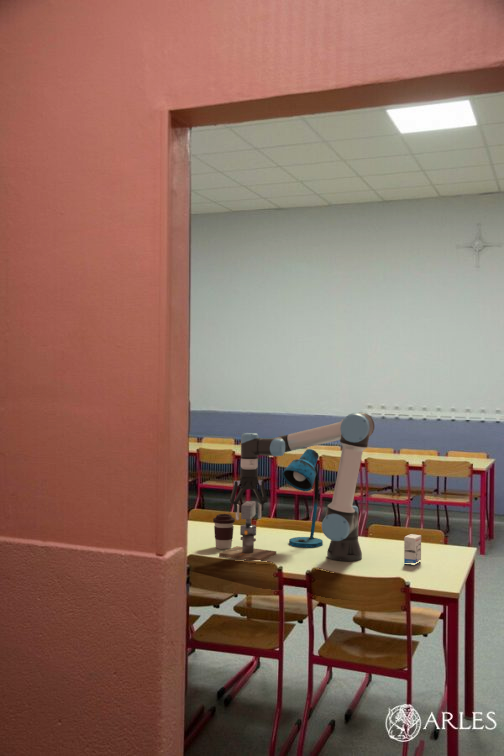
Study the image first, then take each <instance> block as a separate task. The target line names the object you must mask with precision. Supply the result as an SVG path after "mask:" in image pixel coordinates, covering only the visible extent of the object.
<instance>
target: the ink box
mask: <svg viewBox="0 0 504 756" xmlns="http://www.w3.org/2000/svg"><path fill="white" fill-rule="evenodd" d="M403 542H404V543H403V546H404V547H403V549H404V550H403V551H404V553H403V561H404V563H416V562H418V561H419V560H421V561H422V535H421V534H415V533H411V534H408V535H405V536H404V538H403ZM404 563H403V564H404Z"/></svg>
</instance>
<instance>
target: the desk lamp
mask: <svg viewBox="0 0 504 756" xmlns="http://www.w3.org/2000/svg"><path fill="white" fill-rule="evenodd" d="M318 460H319V453H318V452H317V451H316V450H314V449H312V448H307V449H306V450H305V451H304V452H303V454H302V455H301V456H300V457H299V458H298V459H292V461H291V462H290V463H289V465H288V466H287V467H285V468H284V470H283V471H282V473H281V475H282V478H283V479H284V481H285V482H286V483H287V484H288V485H289V486H291V487H292V488H294V489H296V490H298V491H301V492H302V491H303V492H309V491H311V490H312V489H313V486H314V496H313V498H314V499H313V510H312V519H311V527H310V534H309V535H310V536H298V537H297V536H296V537H295V536H294V537H292V538H290V539H289V541H288V544H289V546H291V545H292V546H291V547H296V548H303V549H304V548H305V549H313V548H320V547H322V546H323V545H324V541H323V539H320V538H318V537H315V535H314V534H315V529H316V519H317V512H318V511H317V510H318V501H319V500H318V499H319V498H318V497H319V471H318V468H317V466H316V464H317V462H318Z"/></svg>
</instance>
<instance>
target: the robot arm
mask: <svg viewBox="0 0 504 756" xmlns="http://www.w3.org/2000/svg"><path fill="white" fill-rule="evenodd" d="M375 427H376V426H375V421H374V419H373V418H372V416H371V415H370V414H368V413H366V412H353V413H350V414H348V415H346V416H345V417H344V418H341V421H338V422H335V423H331V424H327V425H322V426H318V427H314V428H311V429H310V428H309V429H305V430H301V431H298V432H294V433H293V432H292V433H289V434H285V435H279V436H277V437H276V436H275V437H272V438H260V437H259V434H258V433H256V432H255V433H254V432H245V433H242V434H241V438H240V479H239V480H233V487H232V492H231V494H230V498H229V503H230V504H232V505H233V512H234V513H235V521H239V520H240V504H239V502H240V501H241V499H242V496H243V495H244V492H246V491H248V490H253V492H254V495H255V497H256V498H257V500H258V503H257V519H259V520H261V519H262V512H264V505H265V504H266V503H268V502H269V500H268V496H267V493H266V488H265V480H263V479H260V480H259V479H258V477H259V476H258V475H259V474H258V473H259V472H258V471H259V469H257V468H258V467H259V465H258V462H259V461H258V460H259V456H266V457H267V456H268V457H282V456H284V454H285V453H288V452H292V451H296V450H300V449H301V450H302V449H306V448H309V447H315V446H319V445H323V444H327V443H332V442H337V441H339V444H340V445H341V447H342V448H341V453H340V458H339V465H338V470H337V474H336V479H335V485H334V489H333V495H332V500H331V502H330V503H328V504H327V507H326V513H325V516H324V518H323V520H322V522H321V530H322V533H323V535H324V536H325V537H326V538H327V539H329V540H330V543H329V545H328V548H327V551H326V553H327V554H326V557H327V558H328V559H330V560H334V561H341V562H355V561H360V560H362V558H363V553H362V549H361V546H360V542H359V514H360V512H359V507H358V506H357V505H353V504H354V498H355V494H356V493H355V492H356V488H357V484H358V477H359V471H360V468H361V461H362V457H363V451H365V450H366V449H368V445H369V440H370V437H372V435H373V433H374V430H375ZM240 485H241V487H240V489H239V491H238V487H239V486H240ZM257 485H259V487H260V492H261V494H260V492H259V490H258V487H257ZM237 491H238V493H237ZM261 495H262V496H261Z"/></svg>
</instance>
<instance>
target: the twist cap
mask: <svg viewBox="0 0 504 756" xmlns="http://www.w3.org/2000/svg"><path fill="white" fill-rule="evenodd" d="M256 503H257V502H256V501H255V500H246V501H245V502H243V504H241V505H240V506H241V507H240V511H241V512H240V513H241V514H240V515H241V516H240V518H241V520H245V524H240V527H239V529H240V531H239V534H240V536H241V537H243V536H254V537H255V536H256V535H257V525H255V524H252V519H253V518H254V517H255V516H256V507H257V505H256Z"/></svg>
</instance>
